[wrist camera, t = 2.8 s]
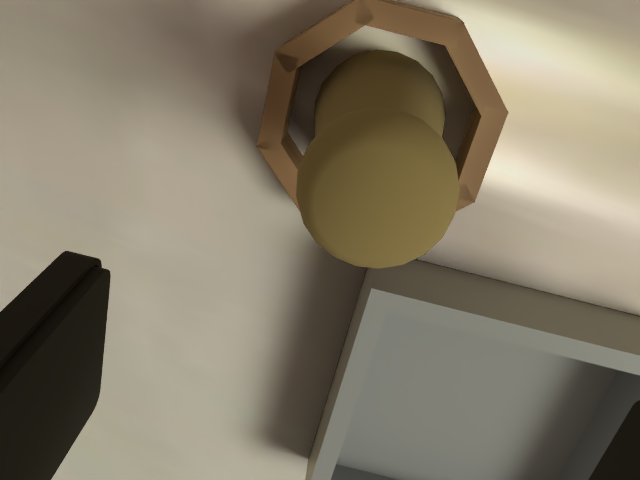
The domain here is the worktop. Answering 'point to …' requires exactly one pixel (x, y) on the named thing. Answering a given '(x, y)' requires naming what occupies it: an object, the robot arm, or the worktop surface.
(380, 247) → the cork
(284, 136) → the socket ring
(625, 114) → the worktop surface
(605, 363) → the tray
